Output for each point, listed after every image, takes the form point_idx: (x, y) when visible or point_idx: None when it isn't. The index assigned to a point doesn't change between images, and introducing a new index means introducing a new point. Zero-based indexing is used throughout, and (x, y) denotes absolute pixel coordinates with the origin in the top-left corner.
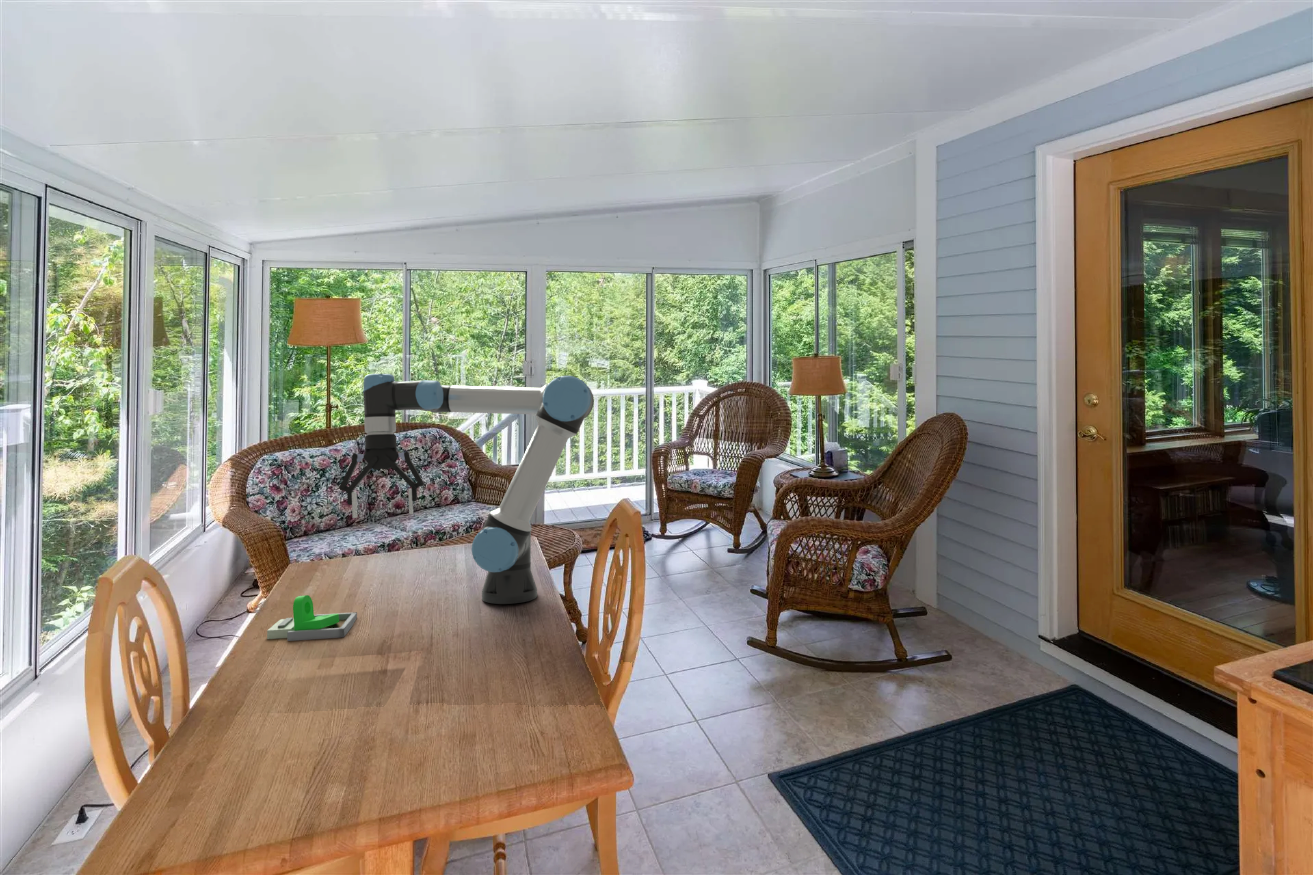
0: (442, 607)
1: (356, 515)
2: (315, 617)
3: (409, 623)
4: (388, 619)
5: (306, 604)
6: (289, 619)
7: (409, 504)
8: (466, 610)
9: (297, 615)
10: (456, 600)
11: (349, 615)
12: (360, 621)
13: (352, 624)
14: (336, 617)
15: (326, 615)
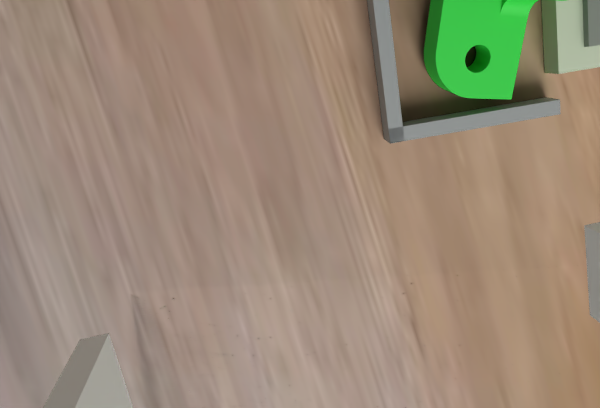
0: (130, 292)
1: (596, 271)
2: (511, 55)
3: (178, 76)
4: (274, 138)
5: None
6: (592, 19)
7: (77, 389)
8: (23, 245)
9: None
10: None
11: (409, 124)
12: (365, 119)
13: (375, 59)
14: (433, 40)
15: (479, 74)
